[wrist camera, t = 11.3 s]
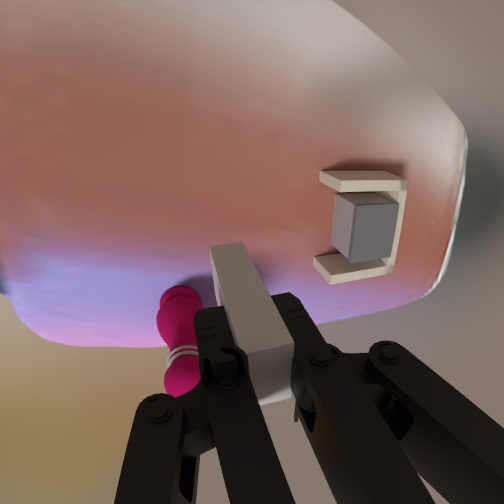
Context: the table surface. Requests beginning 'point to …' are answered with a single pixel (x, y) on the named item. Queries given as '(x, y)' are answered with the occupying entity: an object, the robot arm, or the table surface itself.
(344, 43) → the table surface
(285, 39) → the table surface
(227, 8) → the table surface
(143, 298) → the table surface
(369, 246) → the rounded grey cube
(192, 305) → the pepper mill
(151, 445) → the robot arm
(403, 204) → the bay
